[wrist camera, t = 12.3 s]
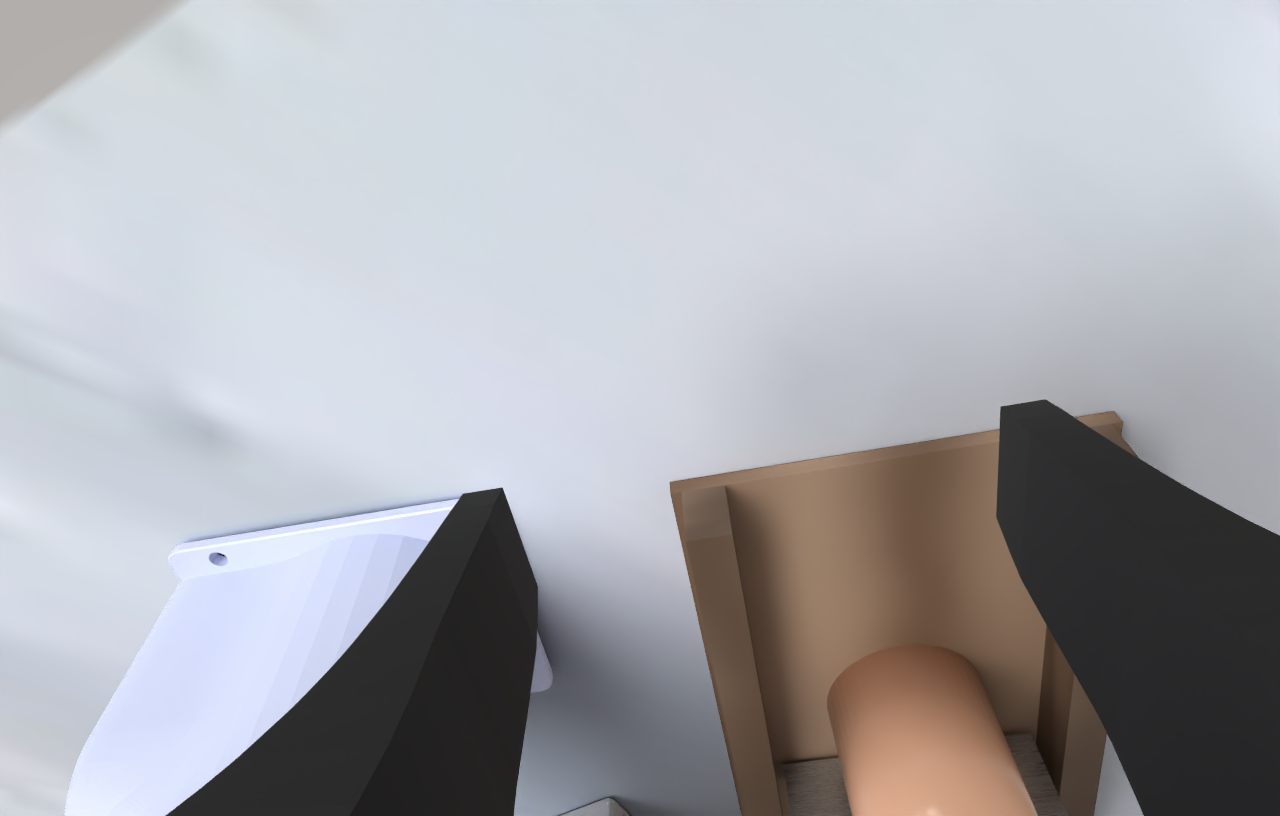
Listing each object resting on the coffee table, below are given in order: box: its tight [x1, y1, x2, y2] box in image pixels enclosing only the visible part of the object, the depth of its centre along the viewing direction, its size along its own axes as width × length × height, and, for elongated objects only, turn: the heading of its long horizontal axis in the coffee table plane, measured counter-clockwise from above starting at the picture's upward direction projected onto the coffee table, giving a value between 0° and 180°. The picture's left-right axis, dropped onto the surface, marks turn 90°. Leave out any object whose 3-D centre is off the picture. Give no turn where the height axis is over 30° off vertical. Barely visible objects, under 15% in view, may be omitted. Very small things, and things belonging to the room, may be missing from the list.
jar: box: [827, 644, 1038, 816], centre depth 26 cm, size 5×5×8 cm
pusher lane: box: [670, 411, 1138, 816], centre depth 28 cm, size 12×22×6 cm, turn 11°
